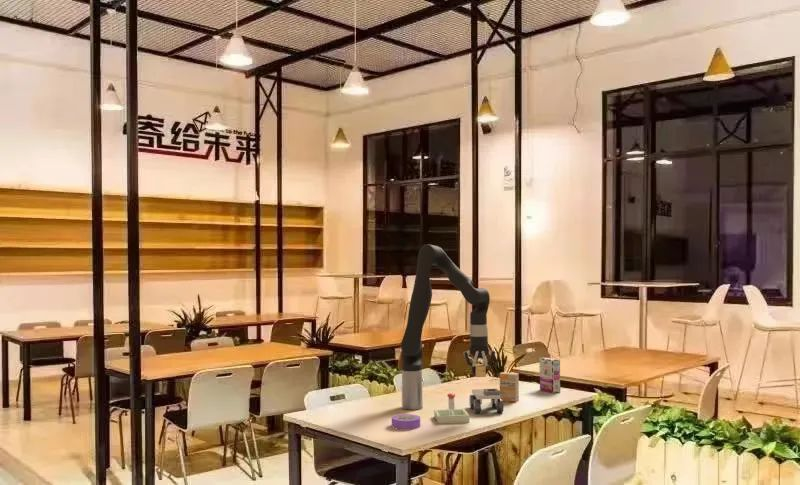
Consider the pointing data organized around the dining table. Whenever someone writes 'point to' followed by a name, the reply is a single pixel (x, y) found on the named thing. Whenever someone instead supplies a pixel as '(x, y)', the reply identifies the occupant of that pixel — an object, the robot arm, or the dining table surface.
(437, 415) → the tray
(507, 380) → the supplement box
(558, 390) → the candy bar box
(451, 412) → the pin
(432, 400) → the dining table surface
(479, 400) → the trolley
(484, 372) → the block
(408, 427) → the masking tape
